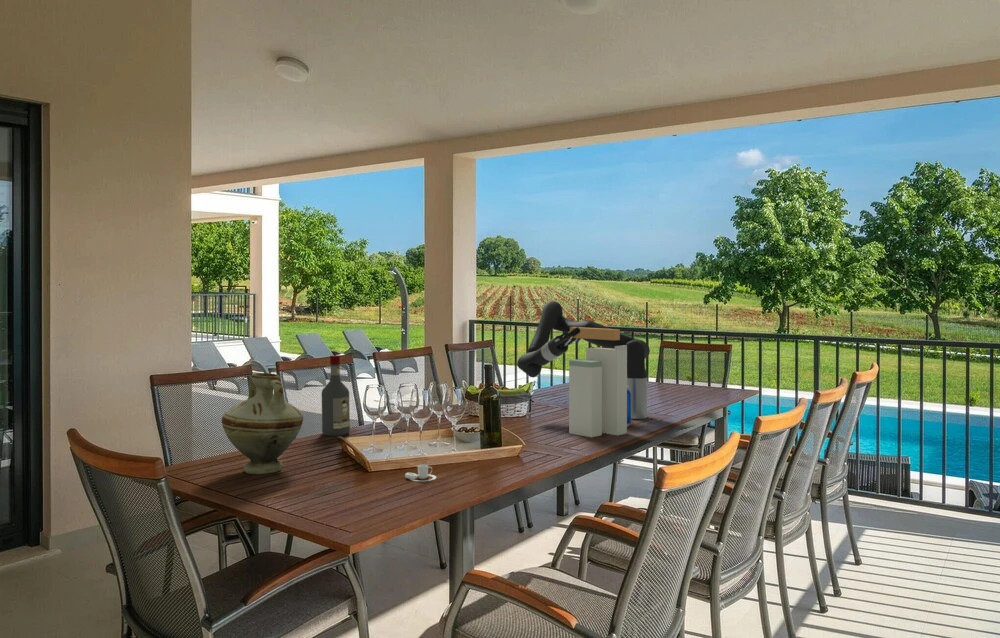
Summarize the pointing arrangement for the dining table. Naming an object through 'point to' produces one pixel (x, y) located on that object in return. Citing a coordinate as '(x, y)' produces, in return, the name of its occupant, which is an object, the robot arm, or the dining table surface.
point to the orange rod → (597, 333)
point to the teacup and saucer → (420, 473)
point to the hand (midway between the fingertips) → (582, 329)
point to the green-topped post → (585, 397)
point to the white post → (612, 387)
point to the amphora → (263, 424)
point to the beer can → (628, 406)
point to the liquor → (335, 403)
